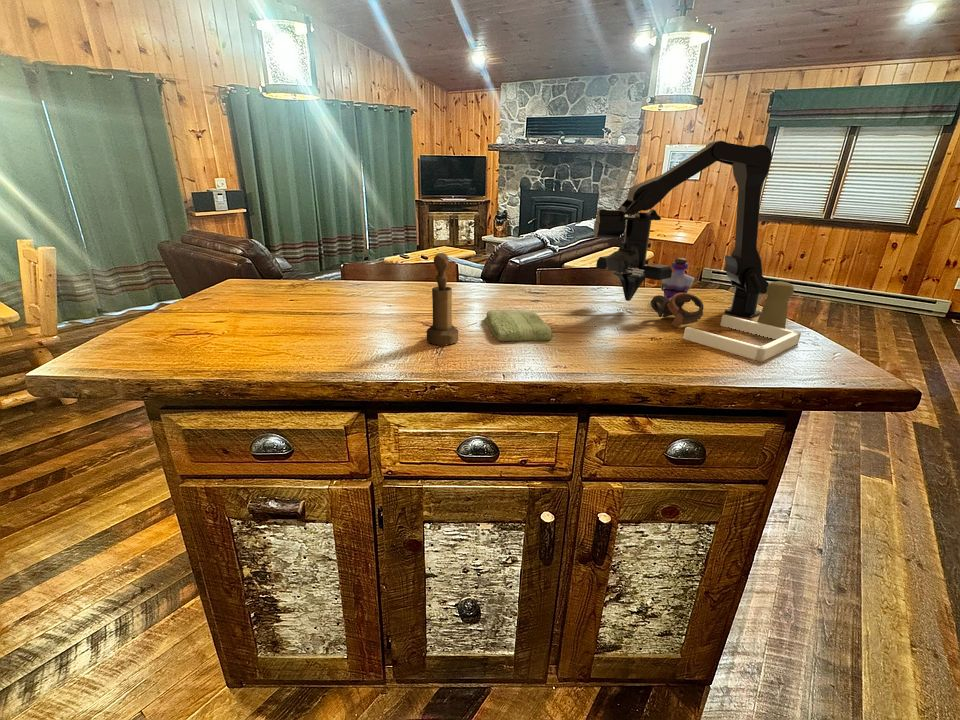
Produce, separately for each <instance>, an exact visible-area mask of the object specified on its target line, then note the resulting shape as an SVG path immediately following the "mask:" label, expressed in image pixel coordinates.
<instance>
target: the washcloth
mask: <svg viewBox="0 0 960 720" xmlns="http://www.w3.org/2000/svg"><path fill="white" fill-rule="evenodd" d="M484 323H486V325H487V326H489V327H488V329H489V330H490V331H491V333H492V335H493V336H494V337H495V338H496V340H497V341H498V340H499V341H498V342H501V341H503V342H504V341H505V342H522V341H532V340H533V341H534V342H535V341H536V342H537V341H539V342H540V341H543V342H544V341H550V340H552V337H553V336H554V335H553V334H554V333H553V330H552V328H551V327H550V326H549V325H548V324H546V323H545V321H544V320H543V319H542V318H541V317H540V315H539V314H538V313H537V312H534V311H525V310H524V311H523V310H522V311H521V310H503V311H495V310H489V311H487V312H486V317H484Z"/></svg>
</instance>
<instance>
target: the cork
mask: <svg viewBox="0 0 960 720" xmlns="http://www.w3.org/2000/svg"><path fill="white" fill-rule="evenodd" d="M768 284H769V285H768V287H767V292H766V294H767V296H766V300H765V302H764V305H763V306H762V310H761V311H760V312H761V314H759V317H758V318H757V321H756V322H758V323H762V324H766V325H771V326H775V327H779V328H783V329H786V324H787V316H788V307H789V299H790V297H792V296H793V294H794V291H795V287H794V285H793V283H790V282H787V281H781V280H779V281H777V280H776V281H771V282H770V283H768Z"/></svg>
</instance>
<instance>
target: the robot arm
mask: <svg viewBox="0 0 960 720" xmlns="http://www.w3.org/2000/svg"><path fill="white" fill-rule="evenodd" d="M772 158H773V152H772V149H770V147H768V146H767V145H764V144H754V145H742V144H736V143H730V142H726V141H724V140H716V141H711V142H708V144H707V145H706V146H704V147H703V148H701V149H700V150H699V151H698V150H697V152H695V153H694V154H692V155H690V156H688V157H687V158H686V159H684V160H682V161H681V162H680V163H678V164H676V165H675V166H673V167H671V168H670V169H668V170H666V171H665V172H663V173H662V174H660V175H658V176H655V177H653V178H649V179H647V180H644V181H642V182H640V183H637V184H635V185H633V186H632V187H630V189H629V190H628V193H627V198H626V199H625V200H624V202H622V204H621V205H620V206H619V207H618V208H617V209H605V208H598V210H597V214H596V217H595V220H594V222H593V237H594V238H595V239H619V238H620V237H621V236H623V235H624V240H623V241H622V242H620V244H619V248H618V250H615V251H614V252H612V253H611V254H609V255H605V256H604V255H603V256H599V258H598V259H597V260H596V266H595V268H596V269H600V270H607V271H608V272H613V275H614V276H616V277H617V278H618V279H619V280H620V282H621V287H622V291H623V295H624V299H625V301H627V302H630V301H632V299H633V297H634V296H635V294H636V292H637V291H638V289H639V287H640V286H641V285H642V283H643V282H644V281H645V280H646V279H650V280H653V281H654V280H655V281H662V279H667V278H671V275H672V273H673V270H672V269H673V268H671V266H670V265H667V264H666V265H665V264H660V263H656V264H649V259H647V255H648V254H647V253H648V248H651V247H652V243H651V242H649V240H650V232H651V226H652V221H661V220H662V217H661V216H660V215H658V213H657V211H656V209H653V208H654V207H655V206H656V205H657V204H659V203H660V202H661V201H662V200H664V198H665V197H666V196H667V195H668V194H669V193H670V192H671V191H672V190H673V189H675V188H676V187H677V186H680V185H681V184H683V183H684V182H686V181H687V180H689V179H691V178H692V177H694V176H695V175H697V174H698V173H700V172H702V171H703V170H705V169H707V168H708V167H709V166H712V165H713V164H715V163H716V162H719V163H722V164H725V165H729V166H732V173H733V178H734V181H735V183H736V186H737V205H736V223H735V235H734V237H735V240H734V247H733V248H734V249H733V250H732V252H731V254H726V255H725V256H724V260H725V261H724V263H725V266H724V267H723V271H724V272H726V277H727V278H728V279H729V280H730V285H731V287H735V289H734V293H733V297H732V301H731V305H730V308H726V309H724V312H725V313H729V314H732V315H733V314H734V315H738V316H741V317H747V318H752V317H755V316H758V315H760V314H761V311H760V310H757V307H758V304H759V299H760V296H761V294H763V295H765V294H767V287H768V285H769V284H770V283H769V282H768V281H767V279H766V278H765V277H764V276H763V264H762V259H761V256H760V253H759V251H758V233H759V219H760V207H761V192H762V186H763V184H764V182H765V180H766V178H767V176H768V174H769V172H770V167H771V163H772ZM648 210H649V211H648ZM643 211H644V212H643ZM645 211H648V212H645ZM648 264H649V265H648Z"/></svg>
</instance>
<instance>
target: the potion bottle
mask: <svg viewBox="0 0 960 720" xmlns="http://www.w3.org/2000/svg"><path fill="white" fill-rule="evenodd" d="M674 259H675V260H674V261H673V262H672V263H671V266H670V267H671V269H673V270H672V275H671V278H667V279H662V280H661V283H660V289H661V291H662V292H663V296H664V297H666V298H668V299H669V298H671V297H673V296H674V295H675V294H677V293H689V290H690V289H691V287H692V285H693V283H694V280H695V277H694V276H691V275H689V274H685V271H686V270H688V269H689V267H690V266H689V265H690V263H688V259H687V258H685V257H676V258H674Z"/></svg>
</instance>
